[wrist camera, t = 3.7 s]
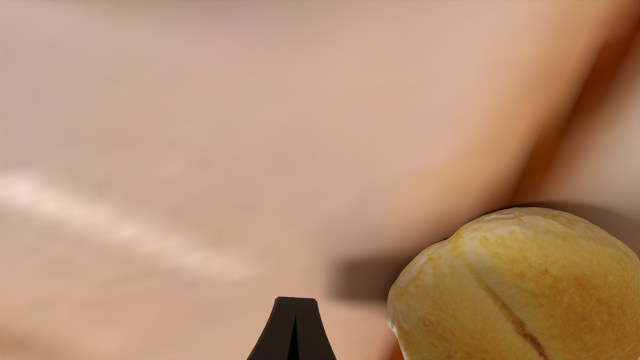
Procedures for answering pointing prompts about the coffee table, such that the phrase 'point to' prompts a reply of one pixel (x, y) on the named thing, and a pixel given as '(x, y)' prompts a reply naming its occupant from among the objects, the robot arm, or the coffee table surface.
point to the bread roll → (520, 292)
